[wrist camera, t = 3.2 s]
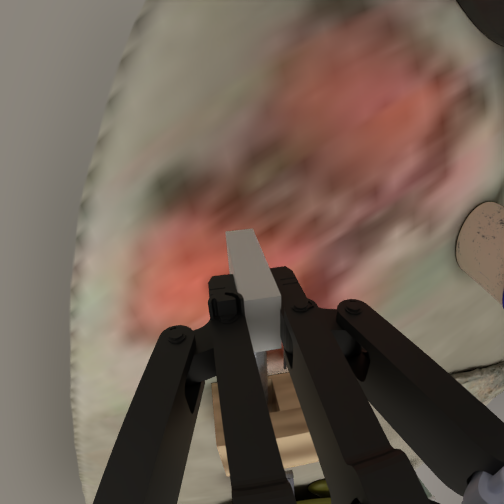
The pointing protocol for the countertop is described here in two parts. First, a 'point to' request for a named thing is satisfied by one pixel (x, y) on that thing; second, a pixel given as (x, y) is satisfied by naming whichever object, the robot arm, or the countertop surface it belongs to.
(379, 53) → the countertop surface
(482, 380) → the long grey stone
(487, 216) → the teacup with lid
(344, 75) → the countertop surface
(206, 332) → the robot arm
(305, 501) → the spaceship
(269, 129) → the countertop surface
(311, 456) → the oak block
